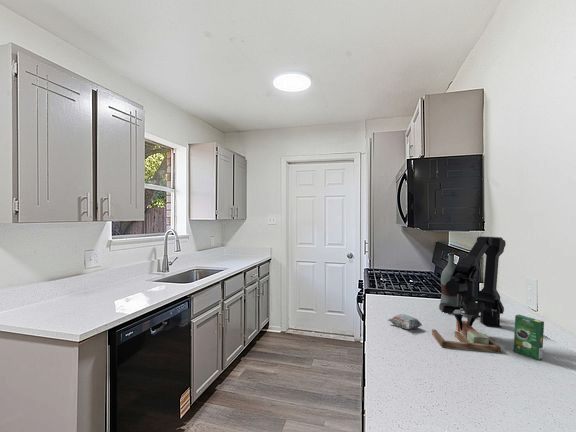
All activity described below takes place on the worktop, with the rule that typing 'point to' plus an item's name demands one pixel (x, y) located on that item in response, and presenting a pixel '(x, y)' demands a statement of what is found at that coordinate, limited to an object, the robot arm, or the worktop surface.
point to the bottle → (445, 278)
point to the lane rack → (466, 343)
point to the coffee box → (528, 336)
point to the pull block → (472, 334)
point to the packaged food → (405, 321)
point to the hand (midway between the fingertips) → (464, 330)
